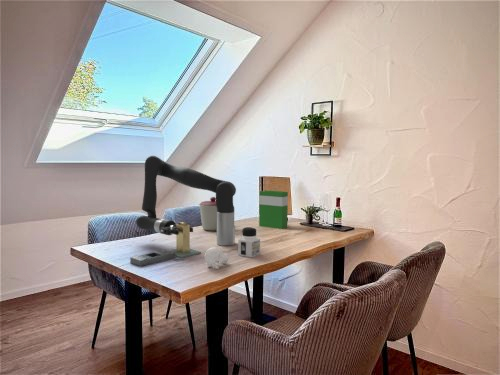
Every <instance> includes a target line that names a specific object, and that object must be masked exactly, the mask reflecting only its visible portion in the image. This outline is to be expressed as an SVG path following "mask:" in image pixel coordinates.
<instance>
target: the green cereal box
mask: <svg viewBox="0 0 500 375" xmlns="http://www.w3.org/2000/svg"><path fill="white" fill-rule="evenodd" d="M288 195H289V192H288V191H280V190H267V189H266V190H259V201H258V202H259V203H258V204H259V207H258V209H259V210H258V212H259V214H258V226H259V227H263V228H271V229H277V228H278V229H279V230H284V229H286V228H288V204H289V202H288V201H289V196H288Z"/></svg>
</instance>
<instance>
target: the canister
mask: <svg viewBox="0 0 500 375" xmlns="http://www.w3.org/2000/svg"><path fill="white" fill-rule="evenodd" d="M198 206H199V211H200V219H201V227H202V229H203V230H205V231H210V232H215V231H216V232H217V207H216V196H211V197H210V198H209V200H205V201H201V202H200V203H199V204H198Z"/></svg>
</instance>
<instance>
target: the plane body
mask: <svg viewBox="0 0 500 375" xmlns="http://www.w3.org/2000/svg"><path fill="white" fill-rule="evenodd" d="M171 251H172V250H167V249H163V250H157V251H154V252H149V253H143V254H138V255H134V256H130V257H129V258H130V259H129V260H130V262H129V263H130V264H133V265H135V266H138V267H144V266H149V265H152V264H157V263H160V262H165V261H168V260H172V259H176V257H175V252H171Z"/></svg>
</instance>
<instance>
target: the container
mask: <svg viewBox="0 0 500 375" xmlns="http://www.w3.org/2000/svg"><path fill="white" fill-rule="evenodd" d="M237 243H238V245H237V246H238V247H237V248H238V249H237V251H238V252H237V253H238V254H237V255H238V256H240V257H241V256H242V257H246V258H251V257H252V258H254V257H256V255H257V256H259V255H260V254H261V238H259V237H257V229H256V227H253V226H246V227H244V228H242V237H241V238H238V242H237Z"/></svg>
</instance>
